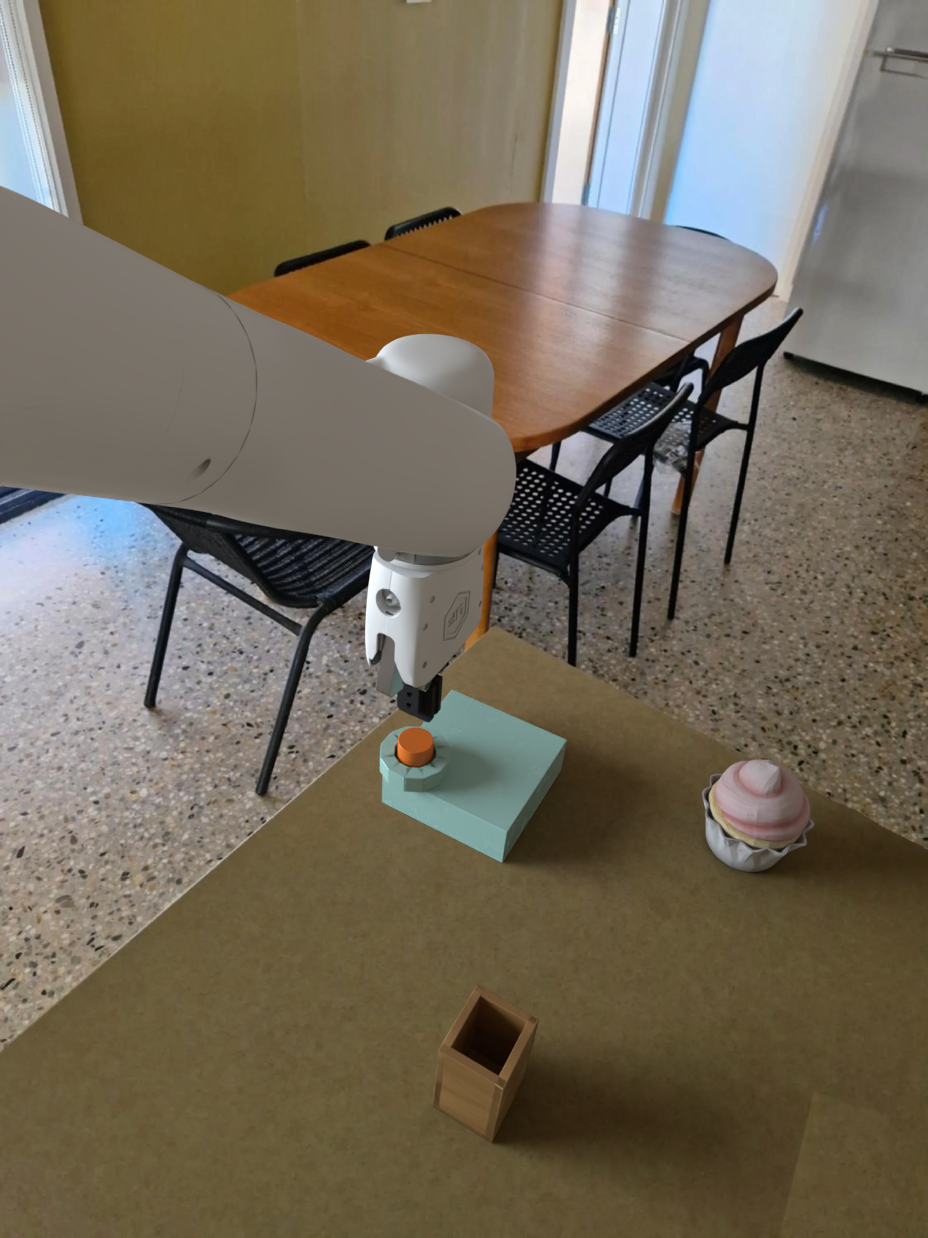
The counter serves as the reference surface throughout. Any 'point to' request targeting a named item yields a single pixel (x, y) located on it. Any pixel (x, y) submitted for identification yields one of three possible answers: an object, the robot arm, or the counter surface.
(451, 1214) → the counter surface
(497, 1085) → the open wooden box
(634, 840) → the counter surface
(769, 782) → the cupcake
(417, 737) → the button
